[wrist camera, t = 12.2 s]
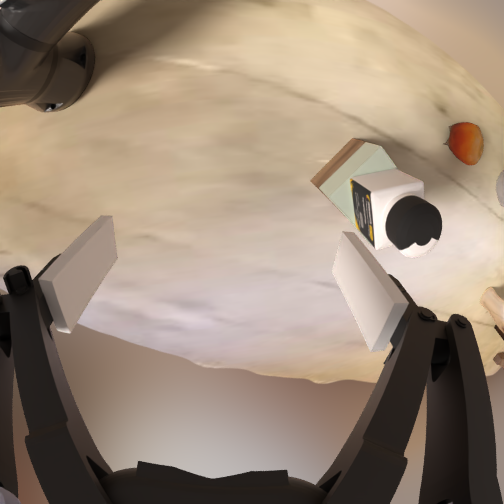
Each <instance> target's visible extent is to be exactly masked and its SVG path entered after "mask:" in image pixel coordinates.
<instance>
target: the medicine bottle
mask: <svg viewBox="0 0 504 504" xmlns="http://www.w3.org/2000/svg"><path fill="white" fill-rule="evenodd" d="M350 186H351V193H352V200H353V207H354V215H355V223H356V227H357V229H358V230H359V231H360V232H361V233H362V234H363V235H364V236H365V237H366V239H367V240H368V241H369V242H370V243H371V244H372V245H373V247H374V248H375V249H376V250H380V249H383V248H387V247H390V246H395V247H396V248H397V249H398V250H399V251H400V252H401V253H402V254H403V255H404V256H406V257H409V258H417V257H421V256H423V255H425V254H427V253H428V252H430V251H431V250H432V249H433V248H434V246H435V245H436V244H437V242H438V240H439V238H440V235H441V231H442V218H441V215H440V212H439V211H438V209H437V208H436V207H435V206H433V205H432V204H430V203H429V202H427V201H425V199H424V183H423V182H422V181H421V180H419V179H417V178H415V177H413V176H410V175H408V174H406V173H404V172H402V171H400V170H397V169H390V170H385V171H380V172H375V173H370V174H365V175H361V176H356V177H351V178H350Z"/></svg>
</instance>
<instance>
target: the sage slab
mask: <svg viewBox="0 0 504 504" xmlns="http://www.w3.org/2000/svg"><path fill="white" fill-rule="evenodd" d="M390 169H397V170H398V168H397V167H396V165H395V164H394V163H393V161H392V160H391V158H390V157H389V156H388V154H387V153H386V152H385V150H384V149H383V148H382V146H379V145H375V144H371V143H368V142H365V143H364V144H363V145H362V146H361V147H360V148H359V149H358V150H357V151H356V152H355V153H354V154H353V155H352V156H351V157H350V158H349V159H348V160H347V161H346V162H345V163H344V164H343V165H342V166H341V167H340V168H339V169H338V170H337V171H336V172H335V173H334V174H333V175H332V176H331V177H329V178H328V179H327V180H326V181H325V182H324V183H323V184H322V185H321V186H320V187H319V189H320V190H321V191H322V192H323V193H324V194H325V195H326V196H327V197H328V198H329V199H330V200H331V201H332V202H333V204H334V205H335V206H336V207H337V208H338V209H339V210H340V211H341V212H342V213H343V214H344V216H345V217H346V218H347V219H348V220H349V221H350V222H351V223H352V225H353V226H354V227H355V228H356V229H357V227H356V223H355V215H354V207H353V200H352V193H351V186H350V178H351V177H356V176H361V175H365V174H370V173H375V172H380V171H385V170H390ZM357 230H358V229H357ZM358 231H359V230H358ZM359 232H360V231H359ZM360 234H361V235H362V236H363V237H364V238H365V239H366V237H365V236H364V235H363V234H362V233H361V232H360ZM366 240H367V239H366ZM367 241H368V240H367ZM368 243H369V244H370V245H372V244H371V243H370V242H369V241H368Z"/></svg>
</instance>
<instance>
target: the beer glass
mask: <svg viewBox="0 0 504 504" xmlns="http://www.w3.org/2000/svg"><path fill="white" fill-rule="evenodd" d="M480 304H481V305H482V306H483V307H485V308H486V309H487V310H488V311H489V313H490V314H491V316H492V318H493V320H494V321H495V323H496V325H497V326H498V327H499V329H500V330H501V331H502V332H503V333H504V299H502V298H501V297H500V296H498V295H497V293H496V292H495V290H494V289H493V288H492V287H489V288H487V289H486V290H485V291H484V292H483V294H482V296H481V298H480Z"/></svg>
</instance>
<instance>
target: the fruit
mask: <svg viewBox="0 0 504 504" xmlns="http://www.w3.org/2000/svg"><path fill="white" fill-rule="evenodd" d="M449 128H450V136H449V139H448V141H447V142H446V143H445V145H448V146H449V148H450V150H451V151H452V152H453V154H454V155H455V156H456V157H457V158H458V159H459V160H461V161H462V162H463V163H465V164H467V165H474V164H476V163H477V162H478V160H479V159H480V157H481V155H482V153H483V146H484V145H483V137H482V134H481V131H480V128H479V127H478V126H477V125H474V124H472V123H467V122H462V123H457V124H454V125H452V126H449Z"/></svg>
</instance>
